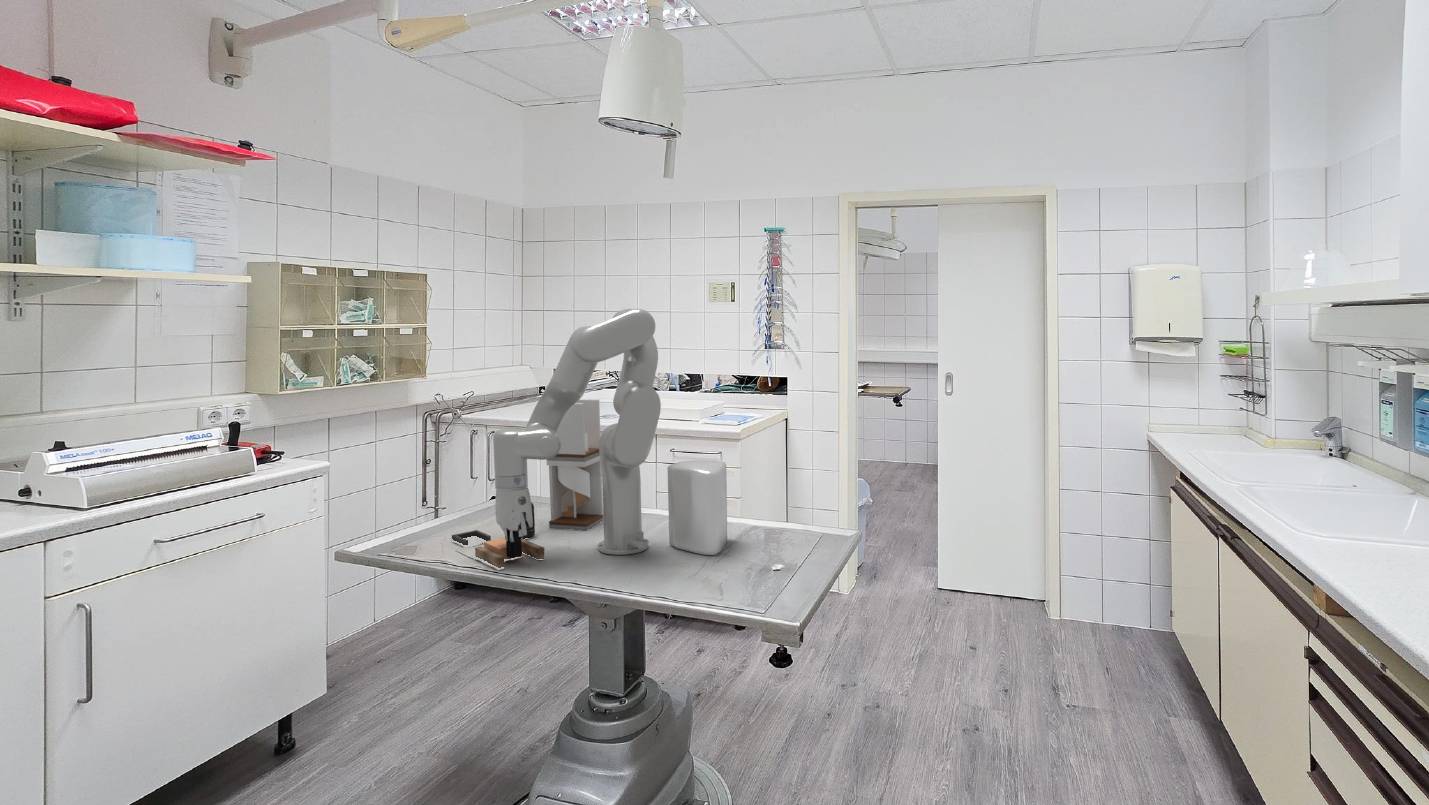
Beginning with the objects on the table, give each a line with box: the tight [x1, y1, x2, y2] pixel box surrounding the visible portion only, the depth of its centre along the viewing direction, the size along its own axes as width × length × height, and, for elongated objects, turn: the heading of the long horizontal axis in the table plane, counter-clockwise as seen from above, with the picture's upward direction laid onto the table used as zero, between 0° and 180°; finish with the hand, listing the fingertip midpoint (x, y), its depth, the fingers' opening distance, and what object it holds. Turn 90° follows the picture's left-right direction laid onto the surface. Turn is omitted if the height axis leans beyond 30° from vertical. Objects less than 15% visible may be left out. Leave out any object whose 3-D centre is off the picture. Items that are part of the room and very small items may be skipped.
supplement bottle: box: [523, 492, 536, 539], centre depth 210 cm, size 7×7×12 cm
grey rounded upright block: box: [667, 459, 728, 556], centre depth 198 cm, size 15×14×22 cm
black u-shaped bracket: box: [451, 529, 492, 545], centre depth 207 cm, size 8×7×2 cm
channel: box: [474, 539, 546, 568], centre depth 191 cm, size 12×12×3 cm
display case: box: [546, 398, 604, 532], centre depth 220 cm, size 11×11×35 cm
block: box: [483, 536, 521, 559], centre depth 193 cm, size 8×6×4 cm
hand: (514, 556), depth 189 cm, fingers closed
